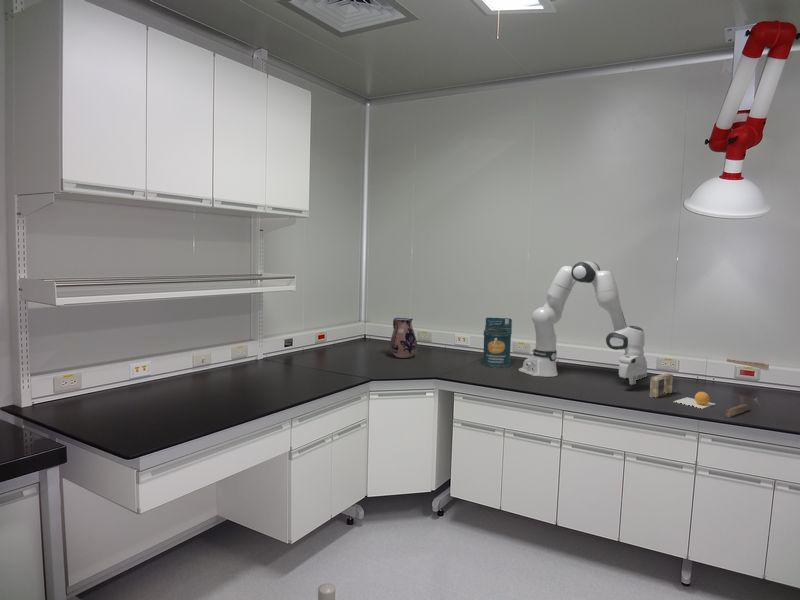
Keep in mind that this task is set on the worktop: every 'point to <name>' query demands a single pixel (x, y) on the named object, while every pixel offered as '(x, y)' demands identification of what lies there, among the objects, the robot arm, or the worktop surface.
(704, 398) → the ball
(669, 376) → the bridge
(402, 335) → the ceramic pitcher
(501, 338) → the teal food package
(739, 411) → the stopper
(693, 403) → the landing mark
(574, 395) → the worktop surface
